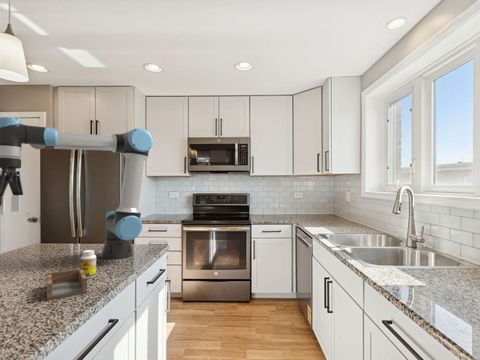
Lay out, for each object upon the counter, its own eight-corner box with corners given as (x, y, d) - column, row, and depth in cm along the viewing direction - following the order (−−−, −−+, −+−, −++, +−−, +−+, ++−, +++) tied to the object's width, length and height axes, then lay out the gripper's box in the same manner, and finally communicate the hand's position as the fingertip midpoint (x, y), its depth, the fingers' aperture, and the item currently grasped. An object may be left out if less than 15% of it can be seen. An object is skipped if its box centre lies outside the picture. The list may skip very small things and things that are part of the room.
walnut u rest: (86, 293, 94) (87, 278, 94) (47, 300, 87) (47, 285, 88) (81, 281, 105) (82, 268, 105) (46, 287, 99) (47, 273, 99)
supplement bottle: (76, 278, 109) (77, 251, 109) (88, 274, 114) (88, 248, 115) (87, 279, 107) (88, 252, 108) (99, 275, 113) (99, 249, 113)
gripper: (11, 160, 119) (10, 210, 118) (-22, 154, 95) (-23, 216, 95) (32, 161, 121) (31, 210, 121) (5, 154, 98) (4, 215, 97)
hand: (7, 213), depth 108 cm, fingers open, 13 cm apart
